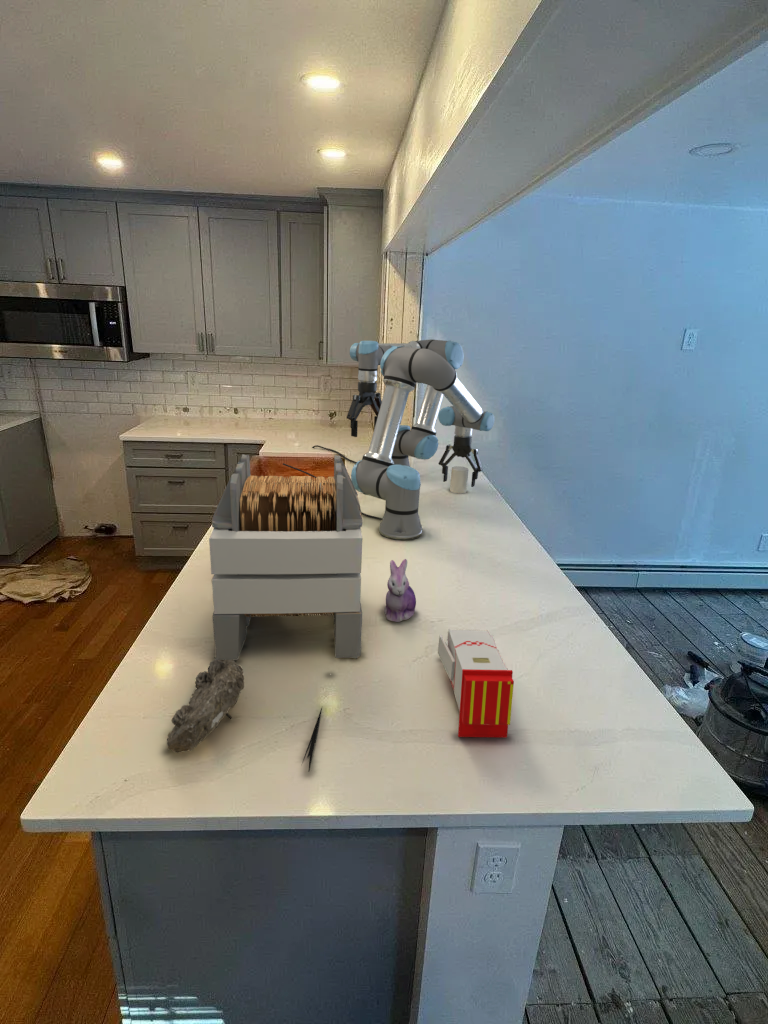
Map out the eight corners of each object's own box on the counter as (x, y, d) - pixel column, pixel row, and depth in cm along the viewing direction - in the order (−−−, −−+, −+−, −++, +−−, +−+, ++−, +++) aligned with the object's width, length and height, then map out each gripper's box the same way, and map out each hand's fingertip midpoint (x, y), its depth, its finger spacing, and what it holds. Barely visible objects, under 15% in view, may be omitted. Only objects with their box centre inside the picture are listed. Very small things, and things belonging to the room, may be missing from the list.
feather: (331, 679, 122) (336, 673, 122) (307, 777, 96) (313, 769, 95) (324, 675, 122) (329, 669, 121) (298, 772, 95) (304, 764, 95)
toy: (488, 613, 130) (523, 677, 101) (484, 667, 133) (517, 744, 104) (435, 612, 130) (455, 676, 101) (432, 666, 133) (451, 743, 103)
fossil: (192, 660, 117) (244, 628, 112) (224, 691, 120) (276, 661, 115) (142, 746, 98) (202, 712, 93) (182, 779, 101) (242, 748, 96)
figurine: (392, 627, 141) (395, 572, 136) (374, 608, 149) (376, 556, 144) (425, 619, 145) (429, 566, 140) (405, 601, 154) (408, 550, 149)
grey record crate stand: (234, 590, 156) (226, 444, 142) (353, 588, 159) (357, 447, 146) (212, 662, 124) (200, 485, 110) (361, 659, 128) (367, 486, 114)
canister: (461, 494, 246) (463, 471, 242) (446, 491, 250) (448, 468, 246) (469, 490, 252) (471, 468, 248) (454, 487, 255) (456, 465, 252)
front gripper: (493, 437, 240) (488, 486, 248) (439, 430, 250) (436, 477, 258) (488, 441, 234) (482, 490, 241) (433, 433, 244) (429, 480, 251)
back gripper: (352, 384, 213) (350, 440, 220) (394, 380, 231) (392, 431, 238) (338, 382, 218) (337, 436, 225) (381, 378, 236) (379, 428, 243)
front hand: (458, 483), depth 250 cm, fingers open, 12 cm apart
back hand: (365, 434), depth 232 cm, fingers open, 13 cm apart
